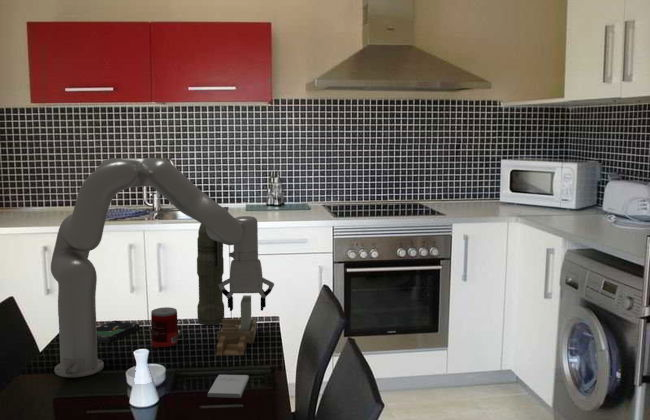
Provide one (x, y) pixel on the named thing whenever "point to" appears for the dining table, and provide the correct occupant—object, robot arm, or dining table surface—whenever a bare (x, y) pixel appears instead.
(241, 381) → the external hard drive
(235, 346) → the stand
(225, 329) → the offcut
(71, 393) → the dining table surface
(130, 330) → the disk drive
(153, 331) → the canned food
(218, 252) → the thermos
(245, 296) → the grey-green flat slab
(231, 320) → the rack
